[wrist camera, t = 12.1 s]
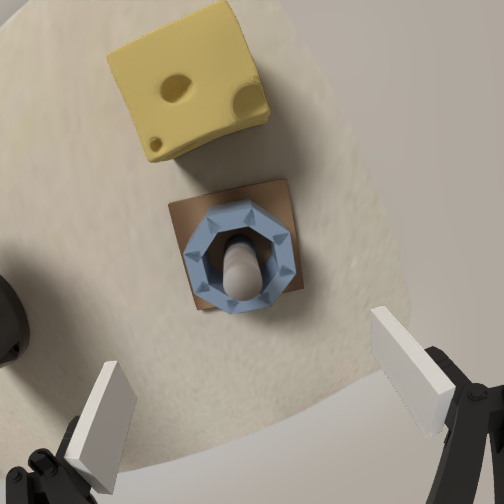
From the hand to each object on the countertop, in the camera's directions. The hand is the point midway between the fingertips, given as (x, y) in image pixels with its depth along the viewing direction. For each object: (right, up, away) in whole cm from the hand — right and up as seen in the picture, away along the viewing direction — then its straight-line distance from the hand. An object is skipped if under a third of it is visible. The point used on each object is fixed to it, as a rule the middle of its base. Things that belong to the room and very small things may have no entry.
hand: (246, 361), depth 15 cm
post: (-1, +6, +19) cm, 20 cm away
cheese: (-5, +21, +14) cm, 26 cm away
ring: (-1, +6, +18) cm, 19 cm away
